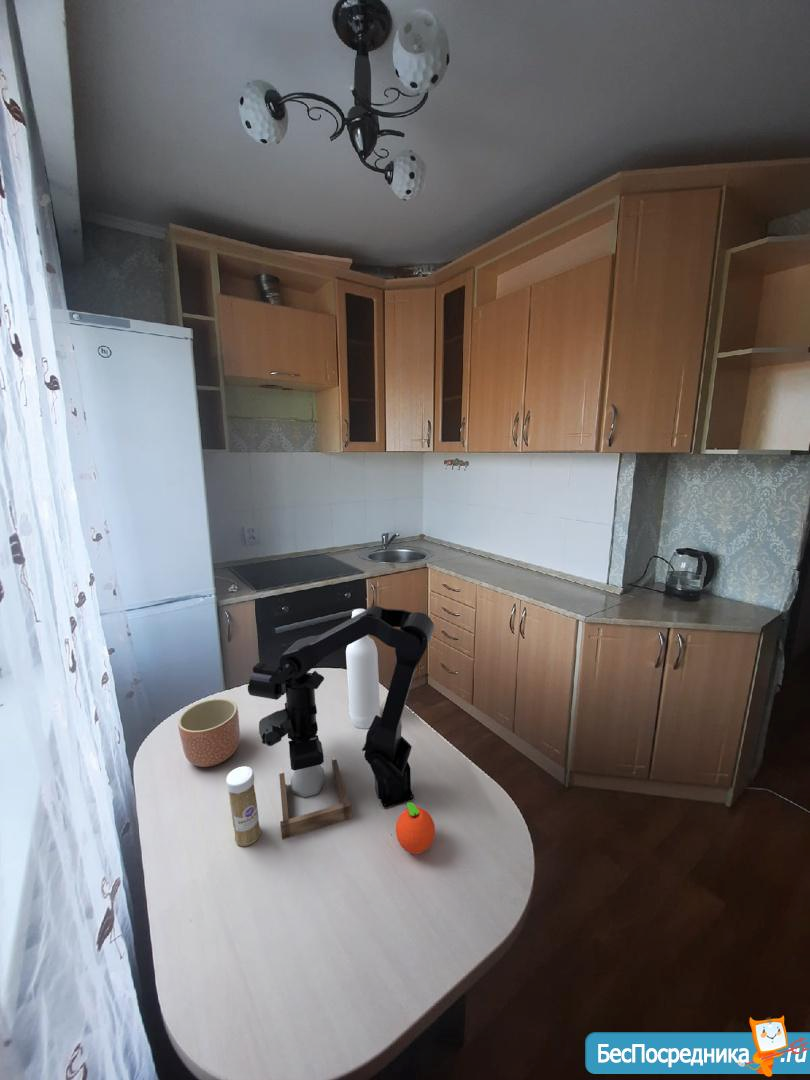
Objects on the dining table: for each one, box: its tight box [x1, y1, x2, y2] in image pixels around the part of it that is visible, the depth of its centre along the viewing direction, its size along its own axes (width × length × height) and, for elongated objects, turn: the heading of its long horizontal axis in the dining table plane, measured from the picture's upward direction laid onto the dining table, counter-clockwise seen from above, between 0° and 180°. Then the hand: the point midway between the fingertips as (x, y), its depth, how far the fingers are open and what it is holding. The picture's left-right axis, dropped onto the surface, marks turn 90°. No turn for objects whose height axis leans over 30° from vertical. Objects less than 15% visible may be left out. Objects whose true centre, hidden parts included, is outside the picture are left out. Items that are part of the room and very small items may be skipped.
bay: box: [278, 758, 353, 840], centre depth 86 cm, size 13×13×3 cm
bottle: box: [345, 608, 381, 730], centre depth 108 cm, size 8×8×30 cm
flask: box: [290, 765, 326, 798], centre depth 88 cm, size 7×7×10 cm
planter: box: [177, 697, 241, 768], centre depth 99 cm, size 12×12×11 cm
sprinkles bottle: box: [225, 765, 262, 847], centre depth 78 cm, size 5×5×14 cm
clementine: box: [395, 801, 436, 855], centre depth 77 cm, size 8×7×7 cm
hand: (304, 763), depth 93 cm, fingers closed, pressing on flask
